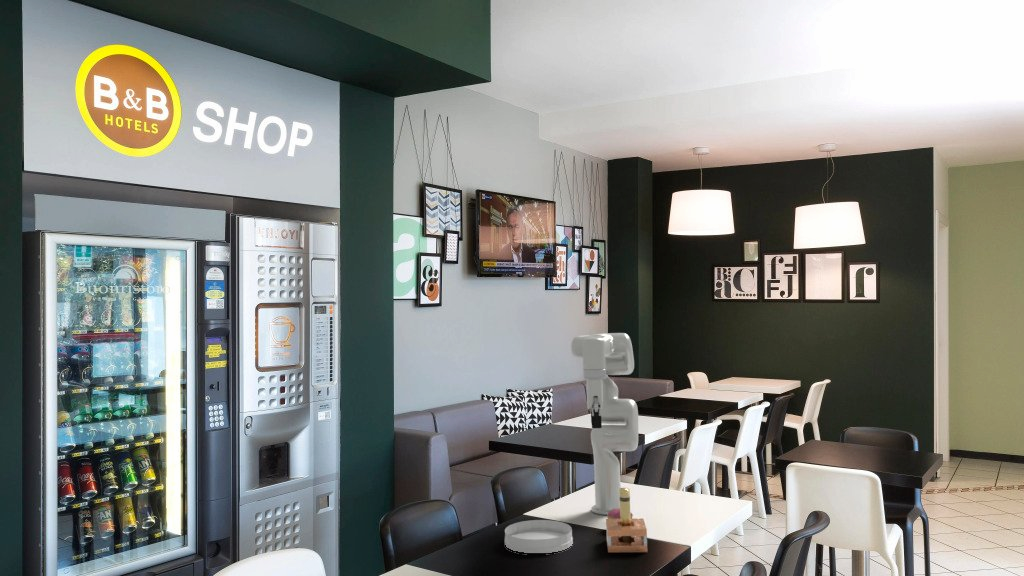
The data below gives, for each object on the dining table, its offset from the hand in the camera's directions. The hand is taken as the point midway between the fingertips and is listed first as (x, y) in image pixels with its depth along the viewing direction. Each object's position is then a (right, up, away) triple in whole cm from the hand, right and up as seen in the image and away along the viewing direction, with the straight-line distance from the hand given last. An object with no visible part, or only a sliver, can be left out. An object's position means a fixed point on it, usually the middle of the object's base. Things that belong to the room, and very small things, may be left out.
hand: (596, 425), depth 255 cm
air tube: (+8, -36, -13) cm, 39 cm away
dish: (-20, -37, -8) cm, 43 cm away
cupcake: (+9, -36, +4) cm, 38 cm away
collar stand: (+8, -36, -14) cm, 39 cm away
